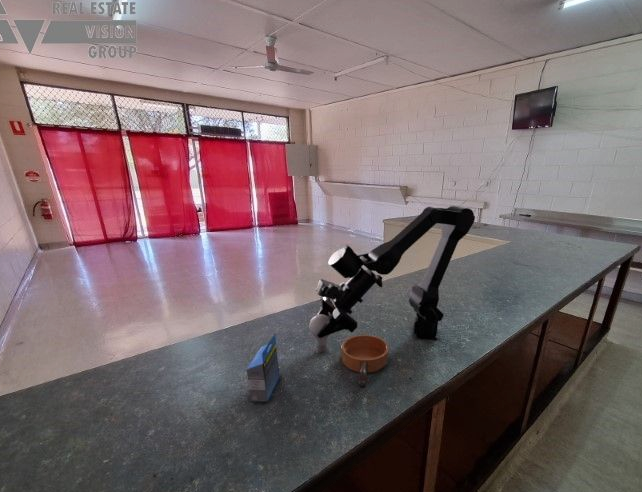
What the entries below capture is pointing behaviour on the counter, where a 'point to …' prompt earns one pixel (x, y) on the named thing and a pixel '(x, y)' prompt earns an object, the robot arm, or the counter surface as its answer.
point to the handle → (363, 375)
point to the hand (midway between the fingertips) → (315, 331)
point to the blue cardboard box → (263, 372)
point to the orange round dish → (365, 352)
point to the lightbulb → (315, 328)
